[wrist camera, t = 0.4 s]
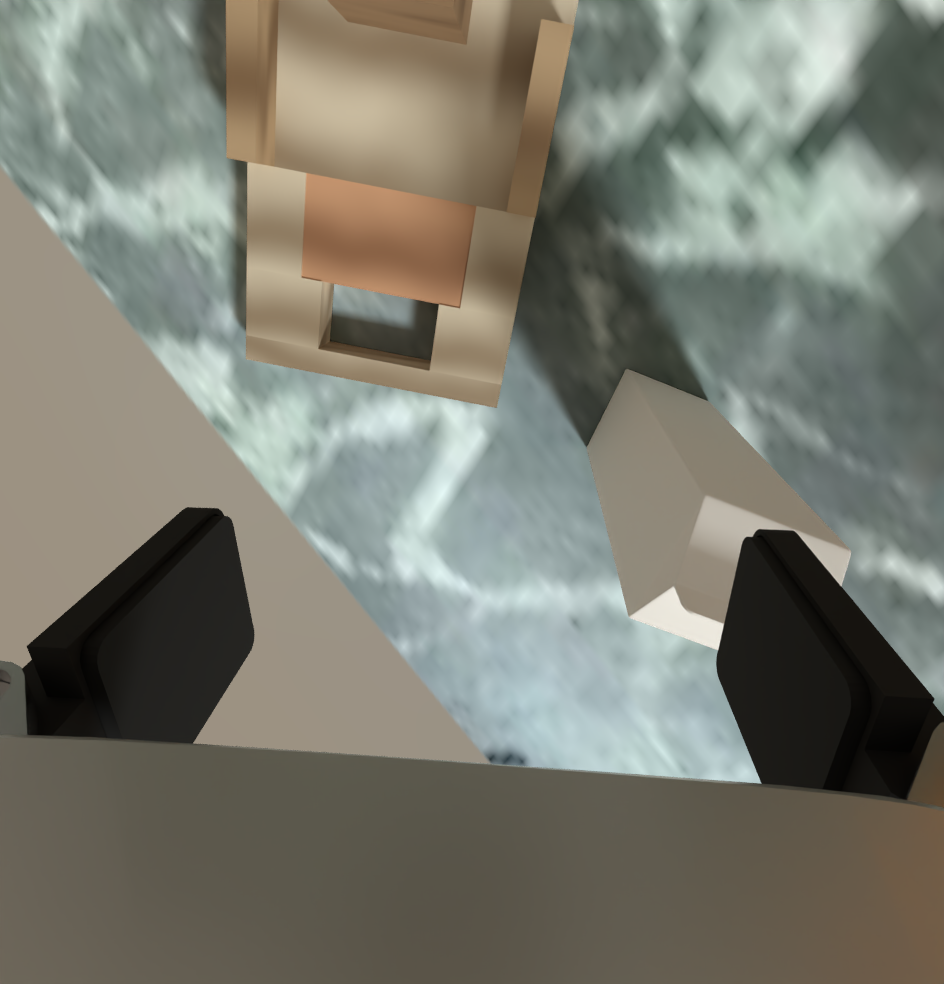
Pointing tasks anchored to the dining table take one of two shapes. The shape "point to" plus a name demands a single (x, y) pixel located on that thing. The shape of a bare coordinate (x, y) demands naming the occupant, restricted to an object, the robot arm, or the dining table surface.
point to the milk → (688, 506)
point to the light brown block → (411, 16)
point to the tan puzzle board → (391, 179)
